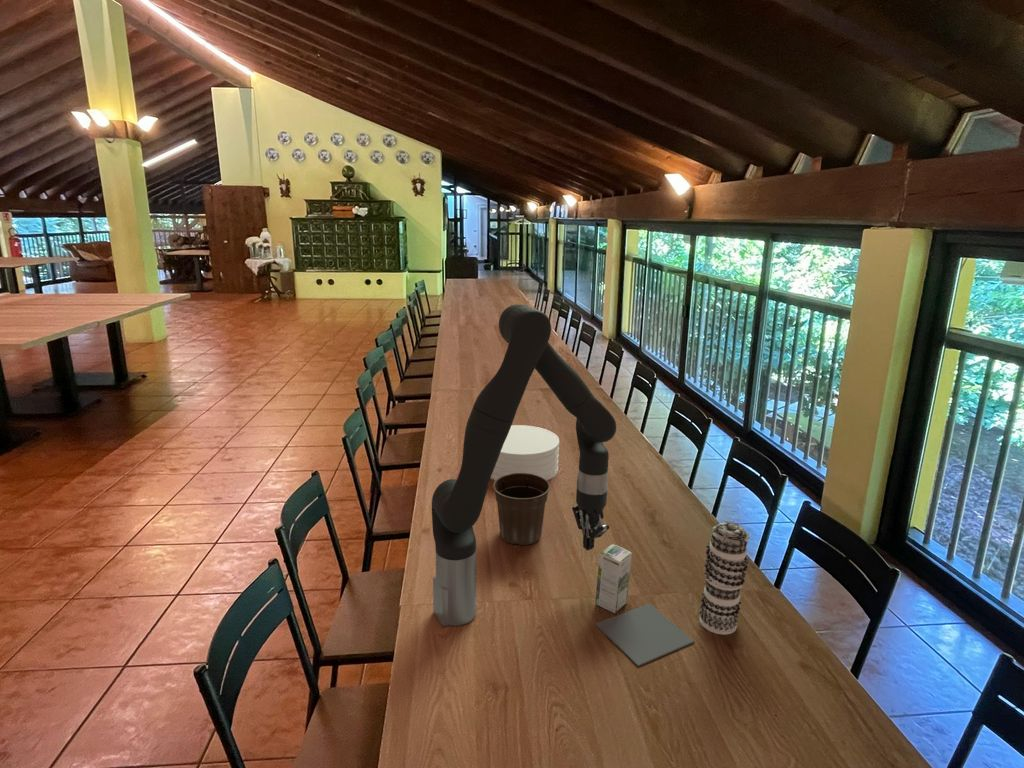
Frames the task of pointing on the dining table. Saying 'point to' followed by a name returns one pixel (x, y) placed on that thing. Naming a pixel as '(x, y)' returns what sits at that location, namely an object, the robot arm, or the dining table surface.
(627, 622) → the mat
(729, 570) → the decorative candle
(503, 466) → the plate stack
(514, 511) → the plant pot
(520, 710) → the dining table surface
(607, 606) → the syrup box
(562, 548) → the dining table surface
